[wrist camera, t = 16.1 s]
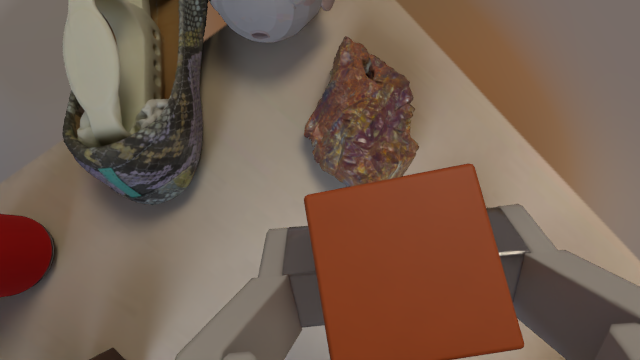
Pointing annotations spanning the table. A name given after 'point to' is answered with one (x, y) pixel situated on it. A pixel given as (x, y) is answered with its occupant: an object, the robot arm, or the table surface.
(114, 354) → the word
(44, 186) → the table surface
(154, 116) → the ballet flat
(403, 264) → the letter S
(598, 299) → the robot arm
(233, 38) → the table surface
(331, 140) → the mineral specimen
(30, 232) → the beverage can
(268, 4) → the toy
